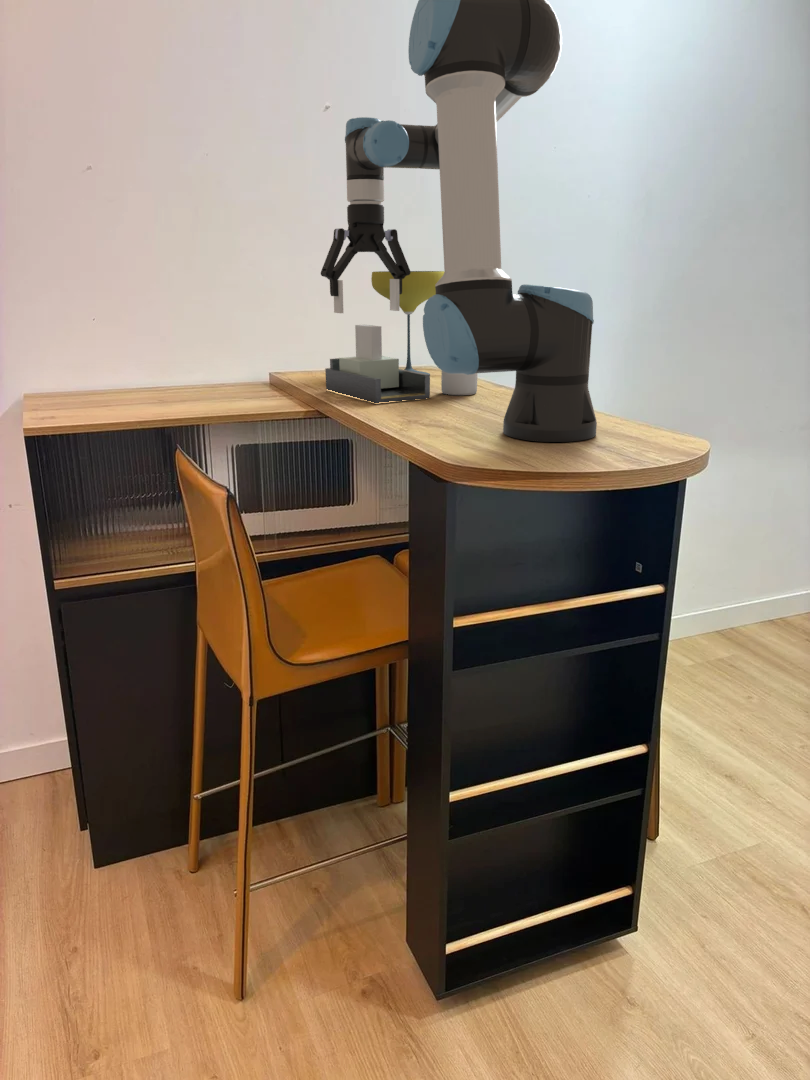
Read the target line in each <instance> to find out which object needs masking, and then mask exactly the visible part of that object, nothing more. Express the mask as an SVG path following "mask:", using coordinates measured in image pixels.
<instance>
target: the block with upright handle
mask: <svg viewBox="0 0 810 1080" xmlns="http://www.w3.org/2000/svg"><path fill="white" fill-rule="evenodd" d="M354 326H355V327H354V328H355V329H354V330H355V356H348V357H346V356H345V357H338V358H339V365H340V370H342V371H346V372H351V373H355V374H360V375H365V376H369V377H374V378H379V379H381V389H383V388H393V387H399V369H400V361H399V360H400V359H399V358H396V357H391V356H384V355H382V354H383V353H382V350H383V345H382V344H383V343H382V341H383V340H382V326H380V325H373V324H372V325H371V324H355V325H354Z"/></svg>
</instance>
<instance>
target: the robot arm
mask: <svg viewBox="0 0 810 1080" xmlns="http://www.w3.org/2000/svg"><path fill="white" fill-rule="evenodd" d="M562 45H563V35H562V29H561V24H560V21H559V18H558V15H557V14H556V12H555V10H554V8H553V7H552V5H551V4H550V2H549V1H548V0H418V1H417V3H416V6H415V8H414V14H413V17H412V20H411V24H410V30H409V37H408V63H409V65H410V69H411V71H412V72H413V73H414V74H417V76H421V77H422V76H423V75H424V87H425V94H426V95H427V96H428V98H429V99H431V100H432V101H433V103H435V105H436V120H437V121H436V123H437V124H435V125H420V124H419V125H418V124H417V125H416V124H401V123H398V122H397V121H396V120H395V121H394V120H380V119H379V118H375V117H368V116H365V117H362V116H361V117H360V116H359V117H355V118H354V117H353V118H350V119H348V120H347V121H346V124H345V136H344V144H345V161H346V162H345V163H346V164H345V166H346V167H345V168H346V169H345V171H346V201H347V202H349V204H348V205H347V206H346V209H347V210H346V211H347V216H346V217H347V219H346V220H347V226H348V227H347V229H344V228H335V229H334V230H333V238H332V239H333V240H332V242H331V245H330V248H329V250H328V252H327V255H326V258H325V260H324V263H323V266H322V269H321V271H320V275H321V277H324V278H326V279H328V280H329V293H330V297H333V310H334V311H333V313H334V314H344V284H343V283H344V282H343V280H342V279H340V278H341V276H342V274H343V273H344V272H345V270H346V268H347V267H348V266H349V265H350V263H351V261H352V260H353V258H354V257H355V256H356V255H357V254H358V253H374V254H375V255H377V256H378V258H379V259H380V261H381V262H382V263H383V265H384V266H385V268H386V269H387V271H389V272H390V273H391V275H392V276H393V278H394V279H390V300H389V311H393V312H400V306H399V294H402V279H404V278H405V276H407V275H410V273H411V272H410V271H411V270H410V267H409V264H408V262H407V259H406V257H405V254H404V251H403V250H402V247H401V245H400V242H399V236H398V235H399V234H398V229H396V228H391V229H387V230H385V228H384V224H385V207H384V205H383V204H382V203H383V202H384V201H385V185H384V184H385V183H384V181H385V180H384V179H385V175H384V171H385V170H384V169H385V168H389V169H391V168H392V169H420V170H421V169H426V170H439V182H440V183H439V185H440V202H441V204H440V205H441V208H440V209H441V225H442V226H441V228H442V245H443V246H442V248H443V249H442V251H443V265H444V266H443V268H444V269H443V271H444V275H443V276H442V277H441V279H440V280H439V281H438V282H437V283H436V285H435V290H436V295H433V296H432V297H430V298H429V299H428V300H426V301H425V304H424V308H423V313H424V314H423V316H422V329H423V330H422V331H423V337H424V342H425V346H426V349H427V352H428V354H429V356H430V358H431V359H432V362H433V363H434V364H435V366H436V367H437V368H438V369H439V370H441V372H442V371H444V372H446V373H450V374H467V375H469V374H475V373H477V374H483V373H484V374H485V373H487V374H488V373H501V372H502V373H503V372H504V373H505V372H515V384H514V385H515V386H514V388H513V392H512V395H511V398H510V400H509V403H508V406H507V408H506V412H505V414H504V417H503V423H502V424H503V425H502V427H503V428H502V433H503V434H504V435H505V436H507V437H509V438H513V439H517V440H522V441H523V440H524V441H529V442H530V441H531V442H544V443H545V442H546V443H567V442H578V441H580V442H581V441H585V440H590V439H592V438H594V437H596V435H597V426H598V425H597V422H598V421H597V417H596V413H595V410H594V406H593V402H592V398H591V394H590V391H589V390H590V388H589V379H590V378H589V376H590V362H591V350H592V349H591V347H592V335H593V334H592V333H593V324H594V323H595V321H594V320H595V319H594V303H593V299H592V296H591V295H590V294H589V293H588V292H586V291H582V290H578V289H572V288H563V287H557V286H556V287H555V286H546V285H540V284H539V285H536V284H521V285H520V286H519V288H518V290H517V294H515V293H514V294H513V279H512V278H511V277H510V276H509V275H508V274H507V273H506V272H505V271H504V270H503V268H502V252H501V251H502V248H501V245H502V244H501V224H500V223H501V222H500V221H501V220H500V219H501V218H500V193H499V192H500V191H499V171H498V170H499V167H498V139H497V135H498V134H497V123H498V122H499V120H500V119H502V117H504V116H505V114H506V113H507V112H509V111H510V109H511V108H512V107H514V106H515V105H516V104H517V103H518V102H519V101H520V99H522V98H523V97H524V98H526V97H530V96H532V95H534V94H535V93H537V92H538V91H539V90H540V89H541V88H542V87H543V86H544V85H545V83H547V82H548V81H549V79H550V78H551V76H552V75H553V74H554V71H555V70H556V68H557V65H558V64H559V60H560V57H561V54H562ZM346 239H348V241H349V243H348V244H347V246H346V248H345V250H344V251H343V254H342V255H341V257H340V258H338V257H339V255H340V253H341V251H342V248H343V245H344V241H345V240H346ZM384 240H385V241H386V242H387V244H388V248H389V250H390V252H391V254H392V255H390V253H389V251H388V249H387V247H386V246H385V244H384V242H383V241H384ZM392 257H393V258H392Z"/></svg>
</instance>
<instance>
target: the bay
mask: <svg viewBox="0 0 810 1080" xmlns="http://www.w3.org/2000/svg"><path fill="white" fill-rule="evenodd" d="M339 358H340V357H338V358H336V357H334V358H329V366H330V367H328V368H327V367H326V368H325V369H324V370H325V390H326V389H328V390H332V391H335V392H338V393H342V394H346V395H350V396H353V397H357V398H360V399H364V400H367V401H371V402H374V403H379V402H389V401H402V400H415V399H424V400H427V399H426V398H430V399H431V374H430V373H429V374H430V375H429V374H424V373H419V372H413V371H408V370H404V368H403V369H401V368H399V387H393V388H383V389H381V379H379V378H374V377H369V376H365V375H360V374H355V373H351V372H346V371H342V370H340V365H339ZM415 401H416V400H415Z"/></svg>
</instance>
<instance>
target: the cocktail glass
mask: <svg viewBox="0 0 810 1080" xmlns="http://www.w3.org/2000/svg"><path fill="white" fill-rule="evenodd" d="M410 272H411V273H410V275H407V276H405V278H404V279H402V294H399V309H401V311H402V312H403V313H404V315H406V317H407V318H406V319H407V320H406V321H407V326H406V327H407V331H406V332H407V335H406V336H407V339H406V341H407V342H406V343H407V345H406V346H407V349H406V350H407V354H406V355H407V356H406V365H405V367H404V368H403V370H408V371H413V372H419V373H424V374H429V375H430V376H431V373H430V372H429V373H428V372H426V371H420V370H416V369H414V368H413V367H412V361H411V315H413V313H414V312H415V311H416V309H418V307H419V306H420V305H421V304H423V303H425V302H427V300H428V299H429V298H430V297H432V296H433V295H436V290H435V285H436V283H437V282H438V281H439V280H440V279H441V277H442V276H443V275H444V272H445V271H444V270H443V271H442V270H439V271H438V270H410ZM370 279H371V280H370V281H371V287H372V289H374V291H375V292H377V294H379V295H381V296H382V297H383V298H386V299H387V300H389V301H390V279H394V278H393V276H392V275H391V273H390V272H389V270H387V271H385V270H384V271H371V278H370Z"/></svg>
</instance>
